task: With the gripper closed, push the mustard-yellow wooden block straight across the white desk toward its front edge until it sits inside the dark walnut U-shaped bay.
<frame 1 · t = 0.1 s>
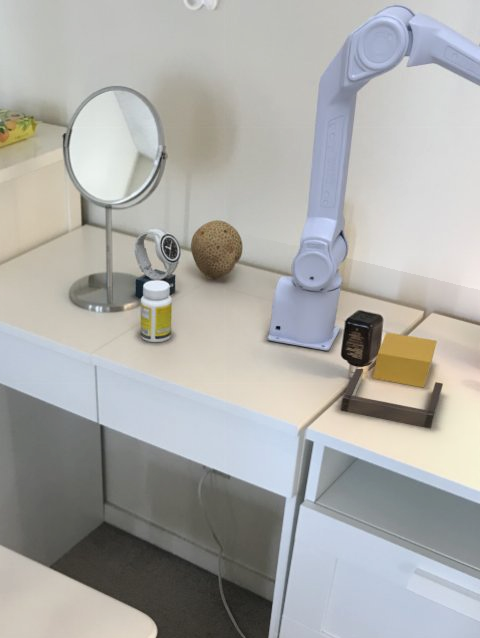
block: (401, 371, 117), on the table
natural sponge: (214, 278, 146), on the table
watch: (155, 295, 141), on the table
supplement bottle: (155, 337, 128), on the table
bay: (391, 401, 111), on the table
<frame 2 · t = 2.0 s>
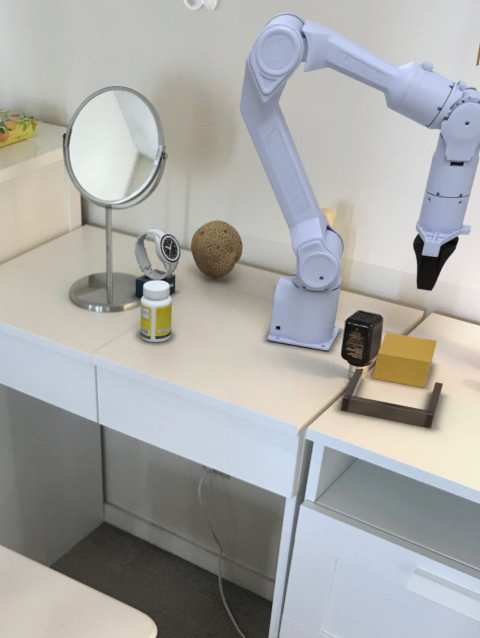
hand: (424, 288, 118), 9 cm above the table, tool pointing down, fingers closed
nothing on the table moved.
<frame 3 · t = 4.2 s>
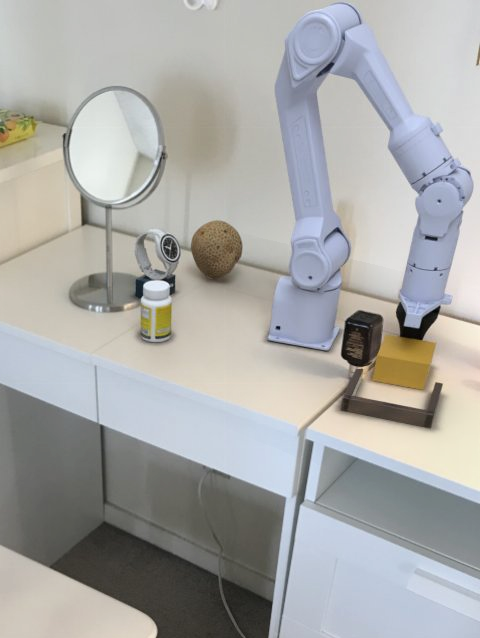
hand: (408, 353, 120), 1 cm above the table, tool pointing down, fingers closed
block: (401, 374, 117), on the table, touching gripper
everything else where it was.
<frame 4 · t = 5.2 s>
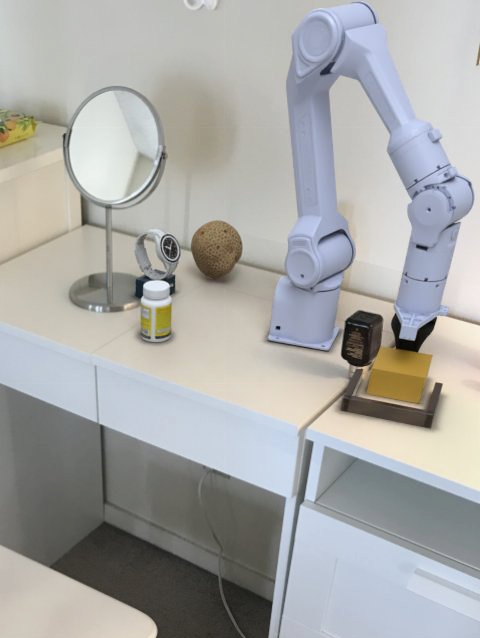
hand: (403, 365, 117), 1 cm above the table, tool pointing down, fingers closed
block: (396, 386, 114), on the table, touching gripper
everything else where it was.
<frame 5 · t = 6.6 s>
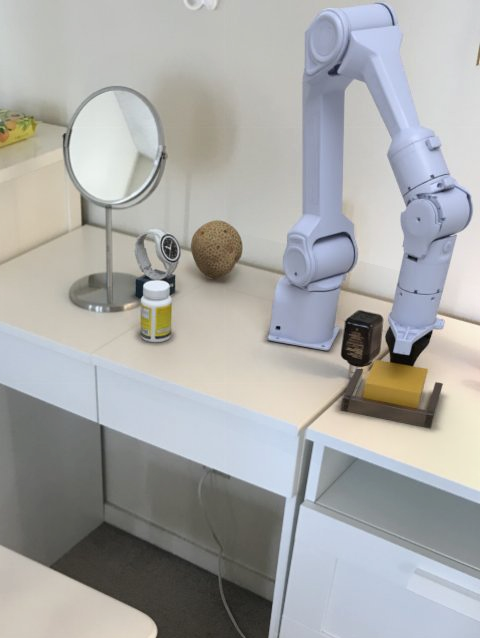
hand: (398, 378, 114), 1 cm above the table, tool pointing down, fingers closed
block: (391, 401, 111), on the table, touching gripper
everything else where it was.
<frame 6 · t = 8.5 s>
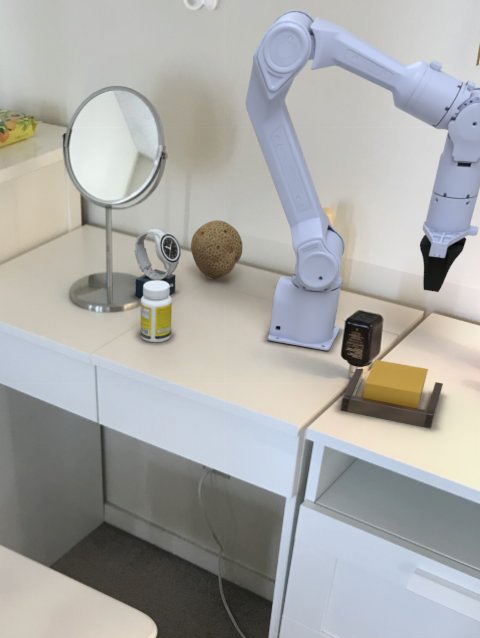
hand: (431, 289, 117), 9 cm above the table, tool pointing down, fingers closed
block: (391, 401, 111), on the table
everything else where it was.
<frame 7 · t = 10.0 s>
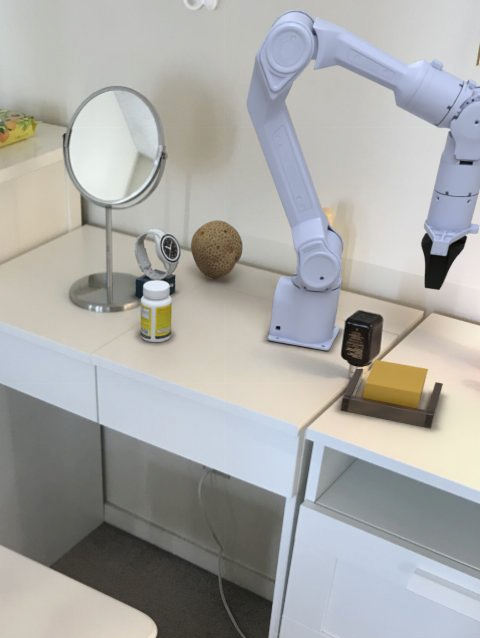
hand: (432, 287, 117), 9 cm above the table, tool pointing down, fingers closed
nothing on the table moved.
at the end: block 0.9 cm from the target spot on the bay, point 0.0 cm above the bay's base; block tilted 0° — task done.
